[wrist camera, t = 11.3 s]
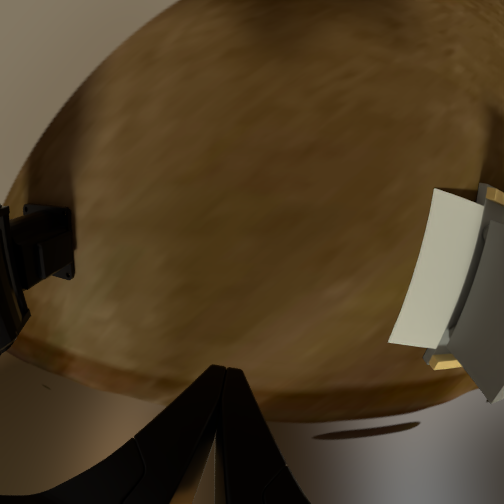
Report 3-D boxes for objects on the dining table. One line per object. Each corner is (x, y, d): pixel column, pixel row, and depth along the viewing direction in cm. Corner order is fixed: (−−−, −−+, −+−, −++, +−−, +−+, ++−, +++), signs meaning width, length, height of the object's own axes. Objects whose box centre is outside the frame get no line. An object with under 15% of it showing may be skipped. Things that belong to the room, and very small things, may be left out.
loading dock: (377, 354, 23) (388, 375, 20) (432, 163, 17) (455, 165, 14) (490, 347, 23) (502, 360, 20) (535, 215, 18) (552, 221, 15)
